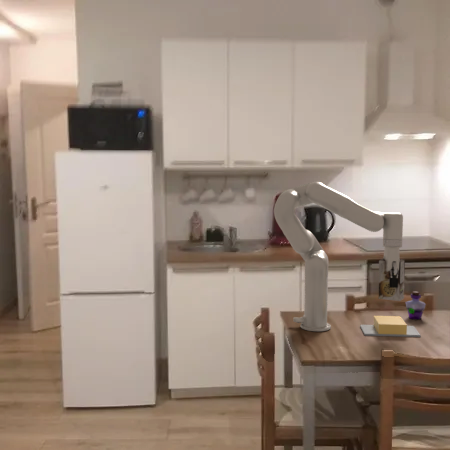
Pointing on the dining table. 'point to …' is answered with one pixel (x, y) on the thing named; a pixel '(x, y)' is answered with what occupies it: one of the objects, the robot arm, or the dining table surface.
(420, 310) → the potion bottle
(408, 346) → the dining table surface
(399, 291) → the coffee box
